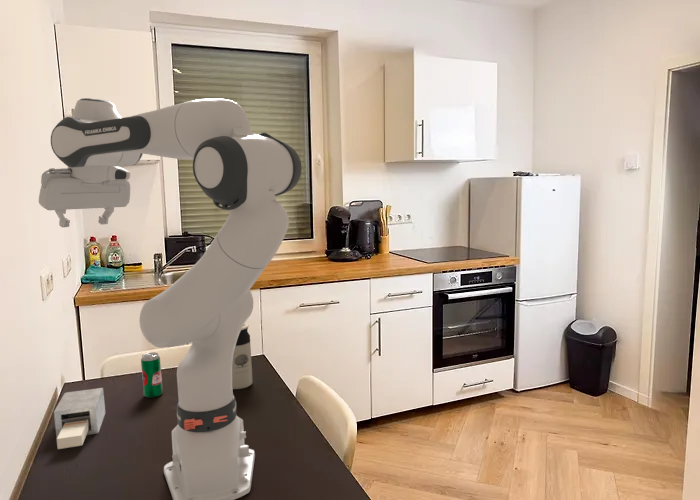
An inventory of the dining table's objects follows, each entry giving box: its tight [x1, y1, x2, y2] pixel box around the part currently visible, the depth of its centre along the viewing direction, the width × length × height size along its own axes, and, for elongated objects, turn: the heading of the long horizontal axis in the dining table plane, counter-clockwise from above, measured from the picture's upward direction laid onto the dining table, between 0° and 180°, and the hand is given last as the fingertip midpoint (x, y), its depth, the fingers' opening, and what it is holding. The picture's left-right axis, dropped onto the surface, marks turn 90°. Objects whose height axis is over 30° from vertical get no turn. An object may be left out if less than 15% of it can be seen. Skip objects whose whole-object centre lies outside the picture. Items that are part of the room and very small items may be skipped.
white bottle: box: [232, 322, 253, 390], centre depth 154 cm, size 8×8×18 cm
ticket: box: [56, 411, 91, 450], centre depth 125 cm, size 16×5×2 cm, turn 17°
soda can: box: [140, 351, 163, 399], centre depth 148 cm, size 5×5×12 cm
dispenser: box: [53, 387, 106, 438], centre depth 131 cm, size 12×9×7 cm
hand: (84, 225), depth 125 cm, fingers open, 8 cm apart
